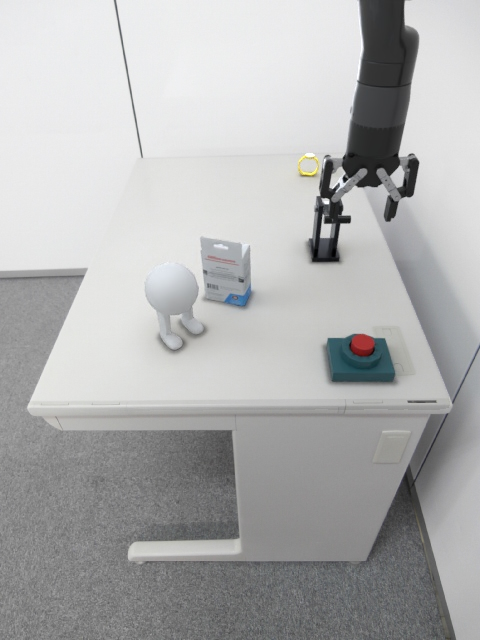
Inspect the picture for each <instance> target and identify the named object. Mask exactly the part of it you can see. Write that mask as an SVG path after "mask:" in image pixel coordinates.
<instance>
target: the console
mask: <svg viewBox="0 0 480 640" xmlns="http://www.w3.org/2000/svg"><path fill="white" fill-rule="evenodd" d="M358 334H359V333H352V334H349V335H347V336H346V337H327V340H326V345H325V347H326V352H327V353H326V354H327V360H328V365H329V372H330V377H331V381H332V382H379V383H380V382H382V383H384V382H388V383H389V382H391V383H393V382H394V379H395V376H396V370H395V367H394V364H393V360H392V356H391V353H390V350H389V347H388V343H387V340H386V338H385V337H374V336H371V335H369V336H370V337H371V338H372V339H373V340H374V348H373V352H372V354H371V355H369V356H367V357H360V356H358V355H355V354H354V353H353V352H352V351H351V343H352V339H353V337H354V336H356V335H358ZM363 334H364V335H367V334H366V333H363Z"/></svg>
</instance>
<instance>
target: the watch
mask: <svg viewBox="0 0 480 640" xmlns="http://www.w3.org/2000/svg"><path fill="white" fill-rule="evenodd" d="M306 159H307V160H314V161H315V162H316V164H317V166H316V168H315V170H314V171H313V172H306V171H303V170H302V169H301V166H300V165H301V162H303V160H306ZM297 169H298V172H299V173H300V174H301V175H302V176H303V175H304V176H309V177H310V176H311V177H312V176H314V175H316V174H317V173H318V171H319V169H320V162H319V159H318V157H316V155H315V154H314V153H311V152H307V153H305V154H304V155H303V156H301V158H300V159H299V160H298V164H297Z"/></svg>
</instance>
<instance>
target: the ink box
mask: <svg viewBox="0 0 480 640" xmlns="http://www.w3.org/2000/svg"><path fill="white" fill-rule="evenodd" d="M199 240H200V249H201V250H200V258H201V267H202V277H203V285H204V292H205V293H204V295H205V299H207V300H211V301H214V302H215V301H216V302H220V303H225V304H226V303H227V304H230V305H235V306H241V307H245V306H246V304H247V301H248V299H249V298H250V295H251V293H252V272H251V271H252V270H251V269H252V268H251V267H252V266H251V265H252V264H251V244H250V243H249V244H248V243H241V242H237V241H231V240H225V239H219V238H214V237H207V236H203V235H202V236H200V237H199Z"/></svg>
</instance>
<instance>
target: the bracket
mask: <svg viewBox="0 0 480 640" xmlns="http://www.w3.org/2000/svg"><path fill="white" fill-rule="evenodd" d="M339 201H340V205H339V213H338V215H343V212H344V204H343V201H342V197H341V198H340V200H339ZM323 208H324V205H323V198H321V197H320V195H316V196H315V205H313V212H314V216H313V227H312V236H311V237H309V238H308V242H307V243H308V249H309V253H310V259H311V263H340V258H341V257H340V253H339V250H338V243H339V236H340V229H341V224H330V225H331V226H330V232H329V233H330V234H329V237H321V232H322V223H323V218H324V215H323Z"/></svg>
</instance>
